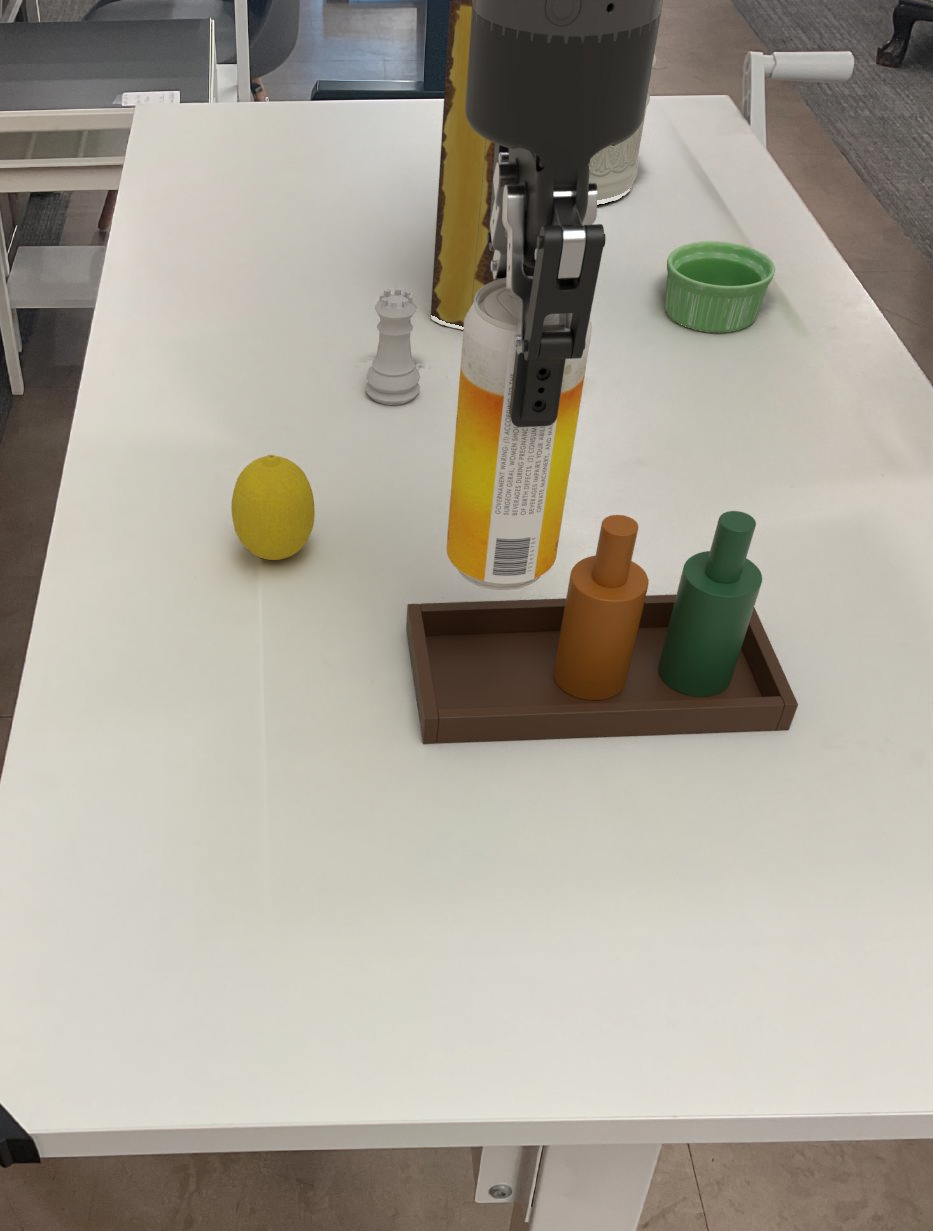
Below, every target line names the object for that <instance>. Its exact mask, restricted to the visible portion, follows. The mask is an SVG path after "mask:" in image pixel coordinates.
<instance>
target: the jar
mask: <svg viewBox="0 0 933 1231" xmlns="http://www.w3.org/2000/svg"><path fill="white" fill-rule="evenodd" d="M656 64H657V55H656V54H655V53H654V58H653V64H652V70H653V69H654V68H655V66H656ZM650 101H651V95H650V92H649V91H648V94H647V100H646V106H645V112H644V117H643V121H642V123H641V125H640V127H639V128H638V130H637V131H636V132H635V133H634V134H633V135H632V136H631V137H630V138H628V139H627V140H625V141H623V142H621V143H619V144H617V145H615V146H611V145H610V146H608V147H606V148H604V149H602V150H601V151H599V152H598V153H596V154H595V155H594V156H593V157H592V158H591V159H590V163H589V170H590V173H589V182H596V183H597V189H598V198H597V200H602V199H607V198H611V197H614V196H617V195H620V194H622V193H624V192H625V191H627V190H628V189H629V188H630V187H631V186H632V187H633V185H634V182H635V180H636V178H637V175H638V168H639V153H640V147H641V141H642V136H643V129H644V124H645V118H646V113H647V107H648V105H649V104H650ZM632 184H633V185H632Z"/></svg>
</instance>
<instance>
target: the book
mask: <svg viewBox="0 0 933 1231" xmlns="http://www.w3.org/2000/svg"><path fill="white" fill-rule="evenodd" d="M472 3H473V0H449V11H448V12H449V13H448V29H447V45H446V59H445V60H446V61H445V75H444V76H445V77H444V78H445V79H444V92H443V110H442V123H441V124H442V127H441V140H440V141H441V142H440V158H439V172H438V189H437V190H438V191H437V206H436V208H437V209H436V220H435V222H436V223H435V238H434V239H435V240H434V254H433V255H434V256H433V268H432V269H433V271H432V288H431V300H430V301H431V302H430V316H431V315H432V316H435V317H437V318H438V319H439V320H442V321H445V322H446V323H450V324H455V325H459V326H462V327H464V319H465V317H466V314H467V313H468V311H469V309H470V308H471V306H472V304H473V302H474V298H475V295H476V293H477V292H478V290H479V289H480V288H482V287H483V286H484V285H486V284H488V283H490V282H493V281H496V280H499V279H494V278H493V271H492V272H491V261H492V260H493V257H494V252H495V251H490V249H489V243H487V233H488V232H489V227H490V213H491V198H492V183H493V169H494V154H495V143H493V142H491V141H489V140H487V139H485V138H483V137H482V136H480V135H479V134H478V133H476V132H475V131H474V130H473V129H472V127H471V126H470V124H469V123H468V120H467V118H466V114H465V102H466V88H467V74H468V60H469V46H470V31H471V17H472Z"/></svg>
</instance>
